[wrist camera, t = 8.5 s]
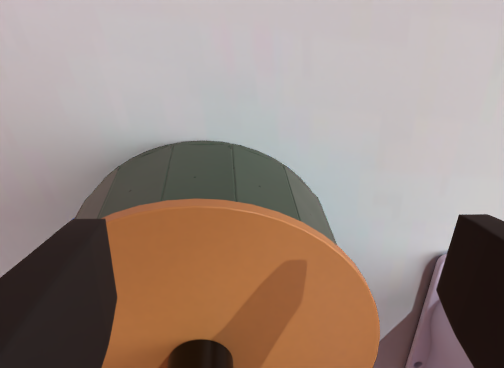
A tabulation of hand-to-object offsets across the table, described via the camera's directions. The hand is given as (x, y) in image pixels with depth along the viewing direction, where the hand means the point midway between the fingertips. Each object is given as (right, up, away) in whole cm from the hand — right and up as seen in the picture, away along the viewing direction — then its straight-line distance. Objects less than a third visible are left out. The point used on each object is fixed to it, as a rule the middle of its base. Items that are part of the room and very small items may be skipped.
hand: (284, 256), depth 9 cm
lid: (-3, -5, +8) cm, 9 cm away
